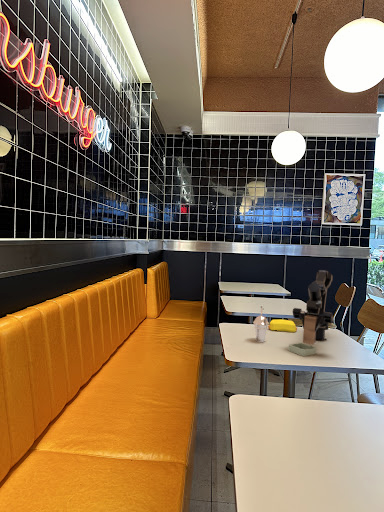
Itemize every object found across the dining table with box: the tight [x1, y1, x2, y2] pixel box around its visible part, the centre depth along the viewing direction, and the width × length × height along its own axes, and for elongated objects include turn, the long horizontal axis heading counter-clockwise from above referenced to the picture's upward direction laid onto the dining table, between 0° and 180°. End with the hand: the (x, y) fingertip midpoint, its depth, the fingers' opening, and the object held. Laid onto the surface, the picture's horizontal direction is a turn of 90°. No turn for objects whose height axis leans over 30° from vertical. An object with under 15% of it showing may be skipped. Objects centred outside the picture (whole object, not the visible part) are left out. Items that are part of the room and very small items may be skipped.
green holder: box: [288, 342, 317, 357], centre depth 171 cm, size 9×9×3 cm
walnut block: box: [302, 315, 317, 346], centre depth 168 cm, size 5×5×13 cm
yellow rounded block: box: [267, 319, 298, 333], centre depth 213 cm, size 18×7×8 cm
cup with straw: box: [252, 306, 270, 343], centre depth 186 cm, size 8×9×20 cm
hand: (309, 329), depth 167 cm, fingers closed on walnut block, 5 cm apart
